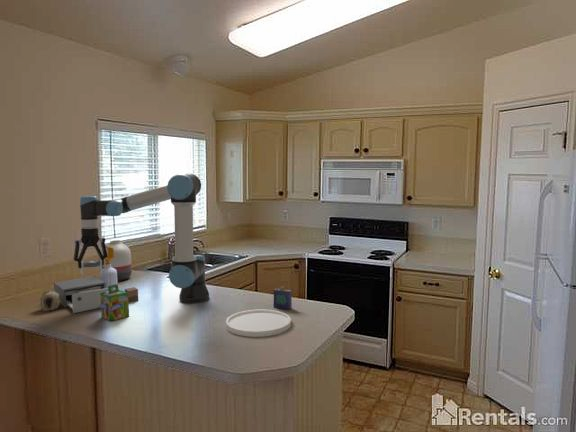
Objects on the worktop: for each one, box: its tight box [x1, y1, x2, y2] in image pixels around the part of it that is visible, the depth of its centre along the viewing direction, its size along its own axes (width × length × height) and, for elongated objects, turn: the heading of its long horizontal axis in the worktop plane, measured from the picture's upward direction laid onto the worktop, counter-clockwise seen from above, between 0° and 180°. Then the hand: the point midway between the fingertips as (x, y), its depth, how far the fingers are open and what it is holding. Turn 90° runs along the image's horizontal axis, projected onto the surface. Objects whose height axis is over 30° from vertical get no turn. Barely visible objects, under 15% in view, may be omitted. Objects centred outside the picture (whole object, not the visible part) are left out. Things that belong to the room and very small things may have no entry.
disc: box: [83, 260, 100, 268], centre depth 216 cm, size 8×8×2 cm
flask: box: [273, 286, 293, 310], centre depth 211 cm, size 9×3×11 cm, turn 68°
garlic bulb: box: [39, 289, 61, 312], centre depth 212 cm, size 9×8×10 cm
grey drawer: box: [65, 286, 113, 314], centre depth 218 cm, size 18×19×9 cm
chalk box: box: [100, 284, 130, 322], centre depth 200 cm, size 9×9×15 cm
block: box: [124, 286, 139, 303], centre depth 225 cm, size 5×5×6 cm
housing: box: [53, 275, 106, 308], centre depth 228 cm, size 18×20×9 cm
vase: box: [101, 239, 133, 282], centre depth 269 cm, size 17×17×24 cm
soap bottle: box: [99, 247, 119, 290], centre depth 246 cm, size 9×9×25 cm
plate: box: [225, 308, 292, 338], centre depth 189 cm, size 28×28×2 cm
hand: (91, 273), depth 217 cm, fingers closed on disc, 8 cm apart
